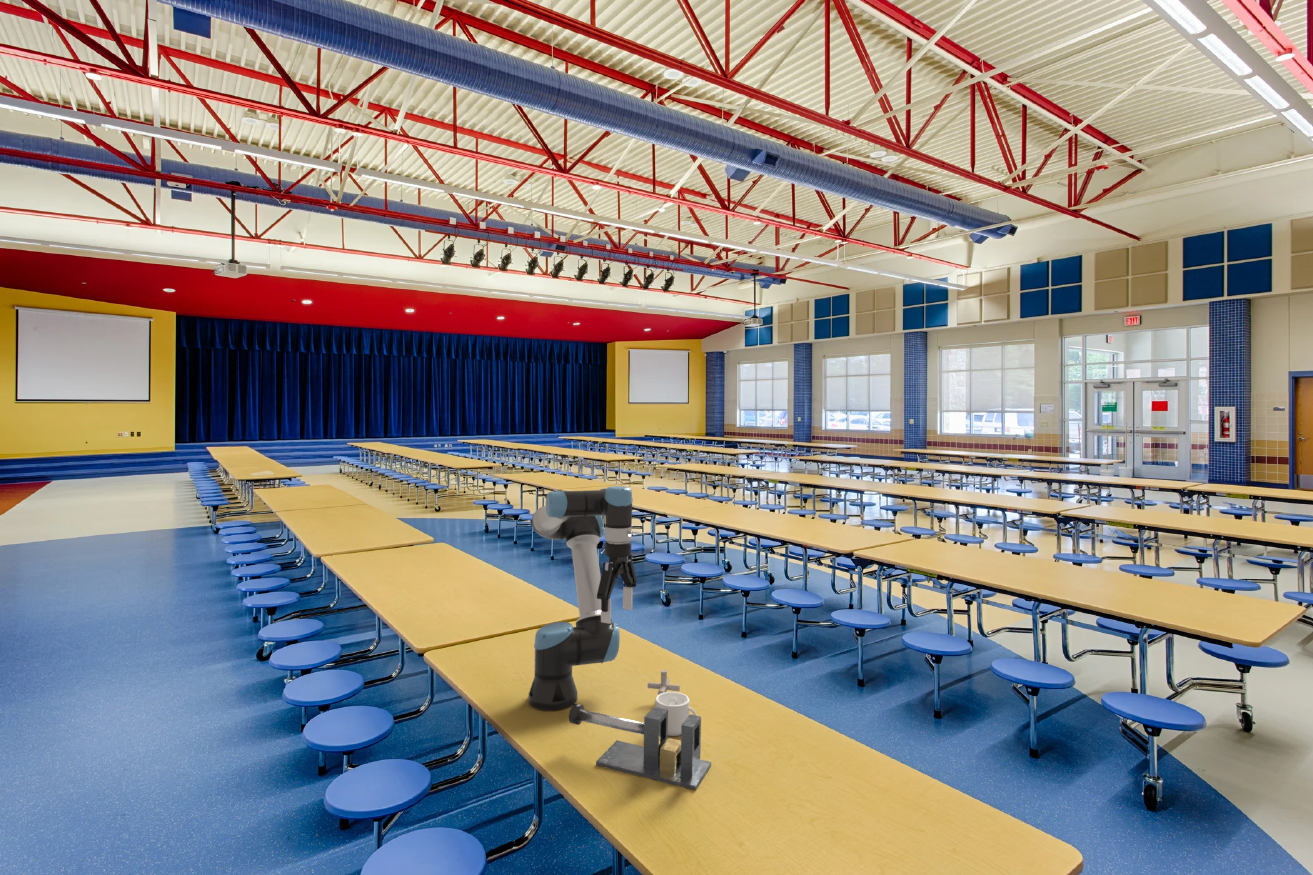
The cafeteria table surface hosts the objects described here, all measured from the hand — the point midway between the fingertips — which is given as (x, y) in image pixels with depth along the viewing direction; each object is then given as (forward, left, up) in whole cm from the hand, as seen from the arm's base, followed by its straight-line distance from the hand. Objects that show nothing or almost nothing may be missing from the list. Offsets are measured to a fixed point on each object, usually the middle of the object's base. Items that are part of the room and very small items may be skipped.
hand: (617, 615), depth 186 cm
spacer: (+23, -14, -32) cm, 41 cm away
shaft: (+6, -14, -26) cm, 30 cm away
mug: (+16, +6, -33) cm, 37 cm away
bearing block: (+18, -14, -33) cm, 40 cm away
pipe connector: (+6, +21, -33) cm, 40 cm away
